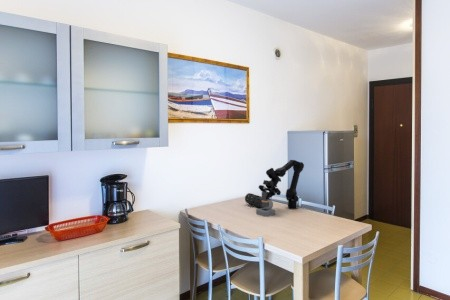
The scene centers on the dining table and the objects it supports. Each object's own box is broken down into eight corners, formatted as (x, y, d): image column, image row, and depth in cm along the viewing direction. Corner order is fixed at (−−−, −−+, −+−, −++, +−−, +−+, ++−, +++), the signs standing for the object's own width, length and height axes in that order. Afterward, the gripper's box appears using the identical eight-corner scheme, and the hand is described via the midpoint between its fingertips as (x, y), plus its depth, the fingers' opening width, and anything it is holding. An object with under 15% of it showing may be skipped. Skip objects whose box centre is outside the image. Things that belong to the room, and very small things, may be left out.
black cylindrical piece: (253, 203, 273) (253, 192, 273) (273, 210, 249) (273, 198, 249) (244, 205, 269) (244, 193, 268) (264, 212, 244) (264, 199, 244)
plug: (265, 205, 239) (265, 191, 238) (269, 206, 236) (269, 192, 235) (261, 206, 236) (261, 192, 235) (265, 207, 233) (265, 192, 232)
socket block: (264, 212, 243) (264, 207, 243) (274, 215, 236) (274, 209, 235) (256, 215, 237) (256, 209, 237) (265, 218, 229) (266, 212, 229)
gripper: (259, 174, 244) (250, 190, 237) (278, 177, 230) (268, 194, 223) (266, 183, 249) (257, 199, 243) (285, 186, 235) (275, 203, 229)
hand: (264, 198), depth 234 cm, fingers closed on plug, 4 cm apart
